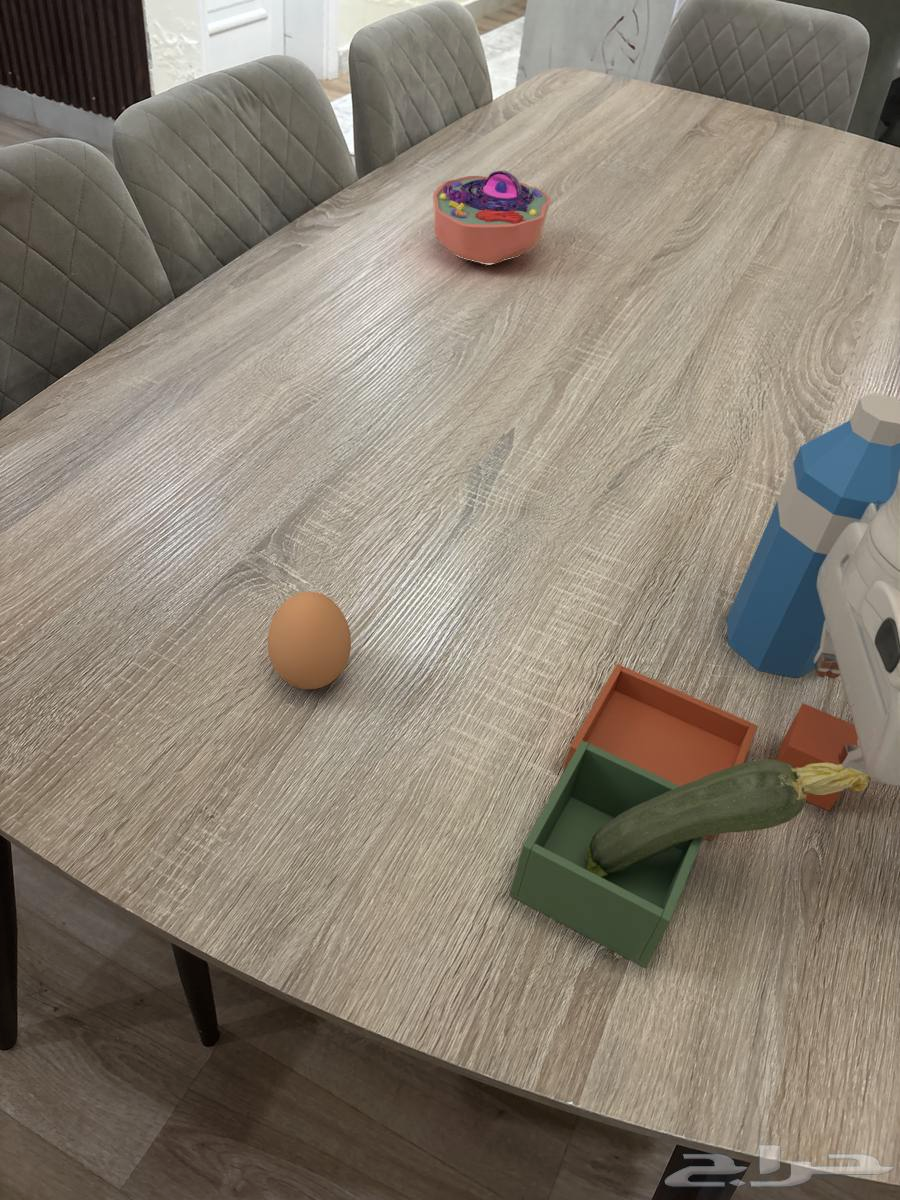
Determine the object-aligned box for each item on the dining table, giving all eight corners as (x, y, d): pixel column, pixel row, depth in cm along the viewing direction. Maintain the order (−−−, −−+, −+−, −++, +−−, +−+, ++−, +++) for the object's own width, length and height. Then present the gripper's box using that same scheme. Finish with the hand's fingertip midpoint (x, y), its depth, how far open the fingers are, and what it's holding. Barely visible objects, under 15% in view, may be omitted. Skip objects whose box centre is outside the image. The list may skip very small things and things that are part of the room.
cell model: (399, 257, 138) (404, 178, 130) (474, 219, 150) (483, 145, 143) (496, 296, 132) (507, 215, 124) (565, 253, 144) (579, 177, 137)
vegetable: (560, 834, 65) (840, 735, 56) (581, 814, 69) (847, 718, 60) (587, 893, 65) (874, 804, 55) (607, 870, 69) (879, 783, 59)
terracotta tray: (746, 748, 77) (758, 725, 75) (710, 840, 70) (722, 818, 68) (609, 686, 81) (617, 663, 79) (563, 769, 74) (570, 746, 72)
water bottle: (807, 694, 82) (937, 461, 65) (708, 646, 85) (808, 411, 68) (837, 634, 88) (963, 405, 71) (744, 591, 91) (843, 362, 74)
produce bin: (691, 852, 70) (716, 803, 65) (645, 968, 63) (670, 921, 58) (565, 791, 72) (581, 739, 68) (508, 895, 66) (522, 845, 61)
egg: (338, 715, 76) (340, 637, 69) (258, 700, 76) (253, 620, 70) (358, 657, 80) (361, 578, 74) (283, 642, 81) (280, 563, 74)
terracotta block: (841, 767, 77) (866, 729, 73) (829, 811, 73) (854, 774, 70) (781, 740, 78) (803, 702, 75) (766, 783, 75) (788, 745, 71)
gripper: (838, 481, 68) (774, 615, 78) (911, 693, 54) (820, 826, 63) (924, 493, 68) (849, 625, 78) (1020, 709, 54) (913, 840, 63)
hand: (836, 717), depth 70 cm, fingers open, 8 cm apart
